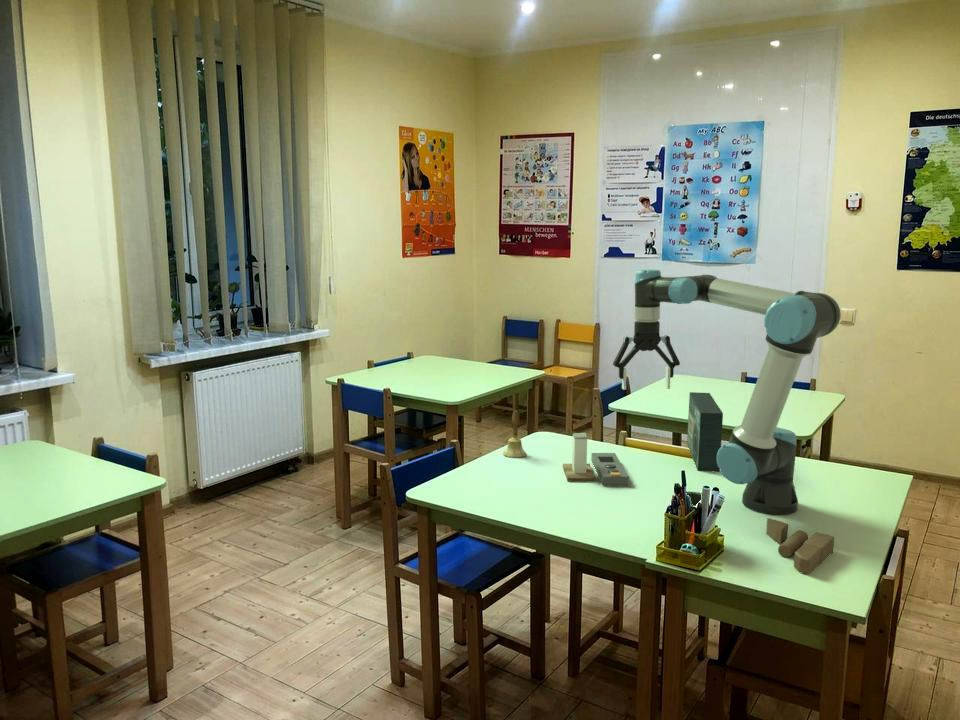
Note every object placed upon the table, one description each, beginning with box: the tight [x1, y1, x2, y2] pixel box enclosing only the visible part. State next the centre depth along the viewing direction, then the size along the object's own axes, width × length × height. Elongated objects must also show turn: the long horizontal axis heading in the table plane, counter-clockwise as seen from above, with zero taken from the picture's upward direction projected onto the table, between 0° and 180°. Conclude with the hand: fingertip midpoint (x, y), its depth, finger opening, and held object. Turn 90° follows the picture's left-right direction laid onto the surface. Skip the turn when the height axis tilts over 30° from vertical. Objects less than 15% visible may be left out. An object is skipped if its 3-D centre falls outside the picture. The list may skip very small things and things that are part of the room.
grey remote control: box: [590, 452, 630, 486], centre depth 244 cm, size 24×8×4 cm, turn 0°
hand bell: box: [502, 410, 527, 459], centre depth 263 cm, size 8×8×16 cm
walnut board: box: [562, 463, 597, 483], centre depth 244 cm, size 14×9×1 cm, turn 0°
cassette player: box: [686, 391, 724, 473], centre depth 259 cm, size 29×7×20 cm, turn 172°
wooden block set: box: [765, 517, 835, 575], centre depth 186 cm, size 17×6×18 cm
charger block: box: [571, 432, 588, 473], centre depth 242 cm, size 5×4×12 cm
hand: (645, 388), depth 232 cm, fingers open, 13 cm apart
